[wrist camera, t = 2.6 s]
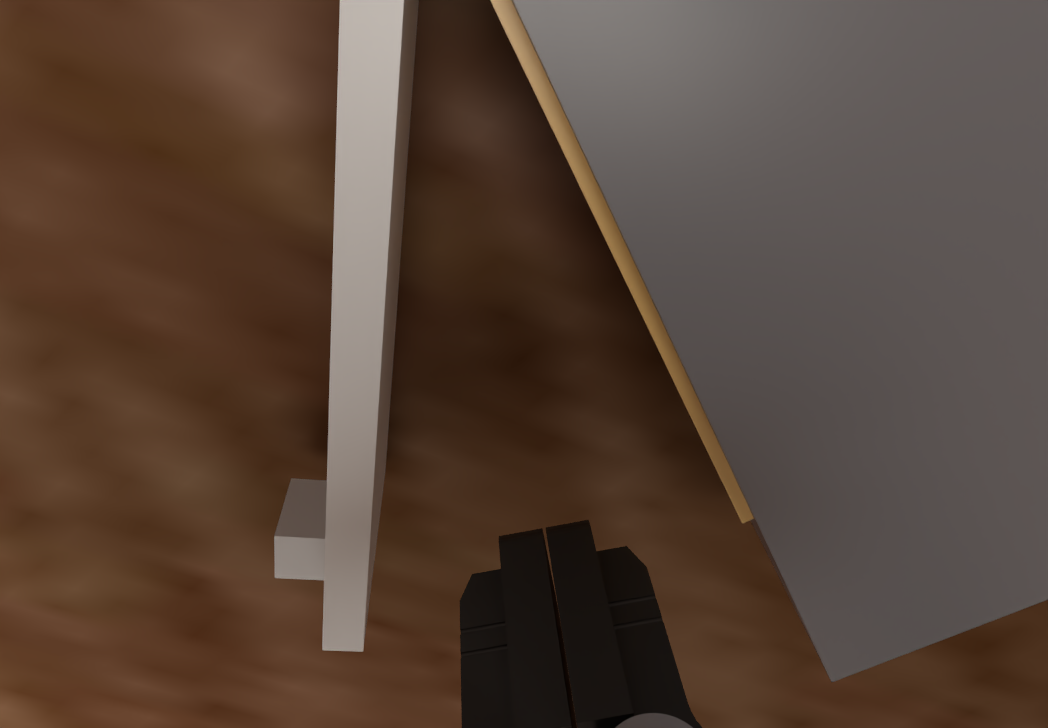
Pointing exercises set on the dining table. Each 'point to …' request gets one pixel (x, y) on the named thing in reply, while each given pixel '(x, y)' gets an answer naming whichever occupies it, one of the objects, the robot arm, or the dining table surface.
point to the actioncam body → (835, 278)
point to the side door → (358, 319)
